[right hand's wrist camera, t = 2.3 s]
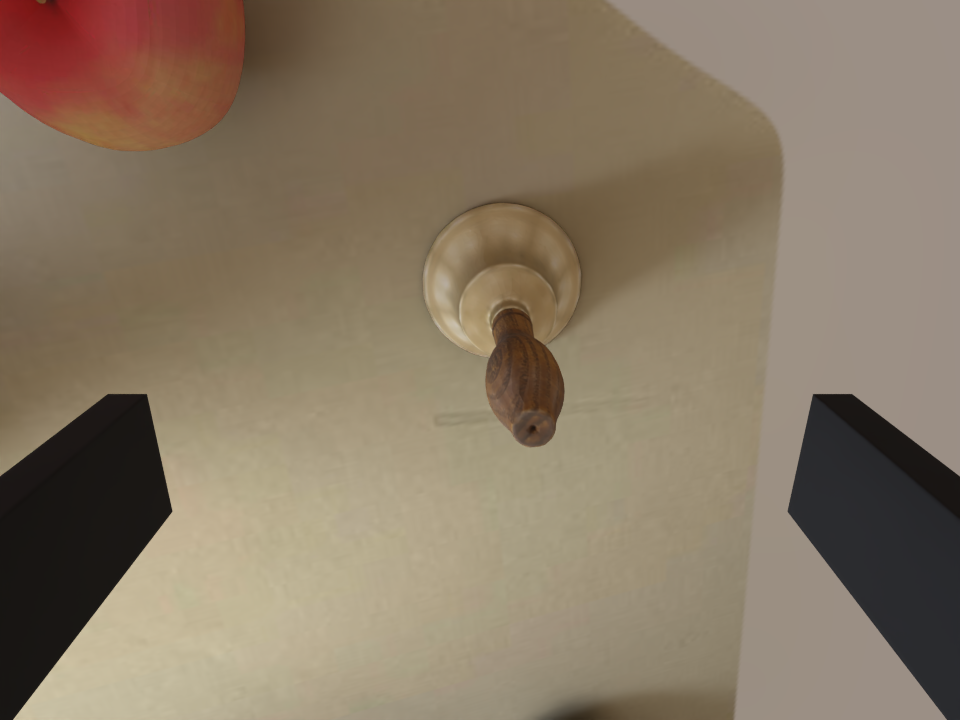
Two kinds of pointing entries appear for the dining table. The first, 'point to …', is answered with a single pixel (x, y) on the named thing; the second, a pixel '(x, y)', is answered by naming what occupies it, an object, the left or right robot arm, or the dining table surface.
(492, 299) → the hand bell
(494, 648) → the dining table surface
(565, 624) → the dining table surface
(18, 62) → the apple
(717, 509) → the dining table surface
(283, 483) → the dining table surface
